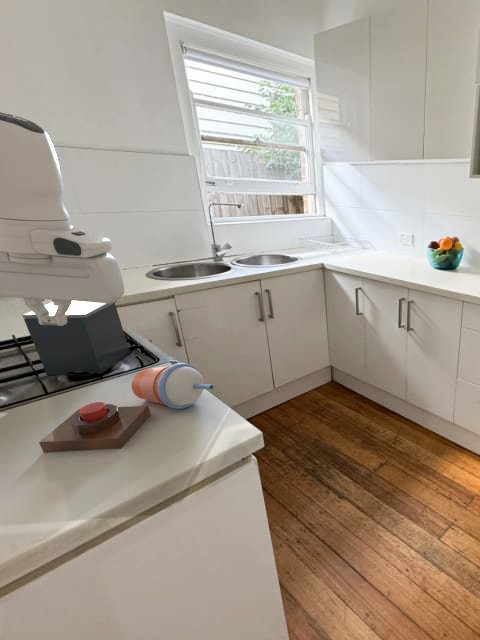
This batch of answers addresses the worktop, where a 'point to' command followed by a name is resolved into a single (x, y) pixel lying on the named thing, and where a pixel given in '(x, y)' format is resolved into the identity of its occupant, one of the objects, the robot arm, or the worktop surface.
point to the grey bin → (80, 343)
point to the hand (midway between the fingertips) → (53, 324)
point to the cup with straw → (170, 385)
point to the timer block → (96, 430)
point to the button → (93, 411)
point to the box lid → (75, 309)
